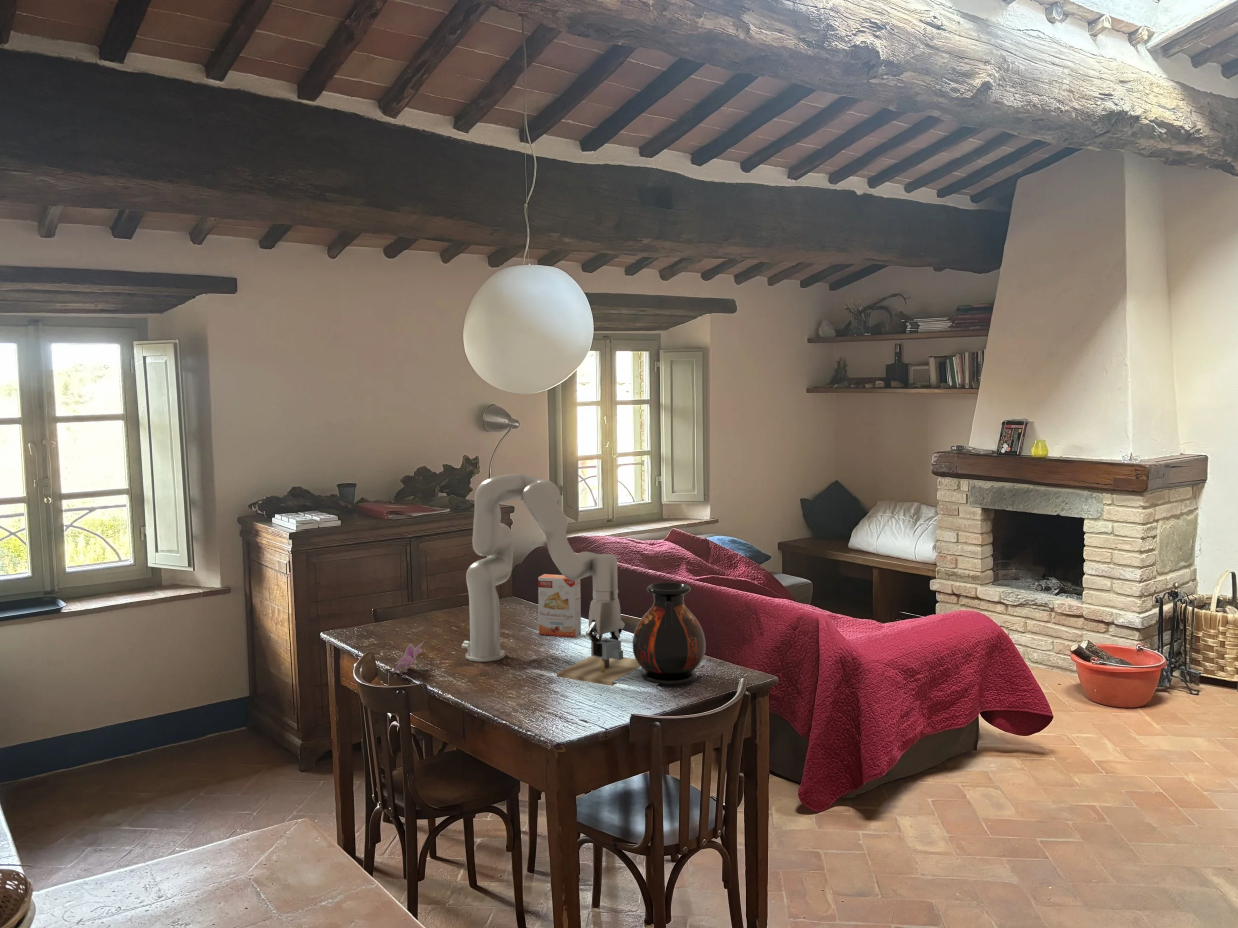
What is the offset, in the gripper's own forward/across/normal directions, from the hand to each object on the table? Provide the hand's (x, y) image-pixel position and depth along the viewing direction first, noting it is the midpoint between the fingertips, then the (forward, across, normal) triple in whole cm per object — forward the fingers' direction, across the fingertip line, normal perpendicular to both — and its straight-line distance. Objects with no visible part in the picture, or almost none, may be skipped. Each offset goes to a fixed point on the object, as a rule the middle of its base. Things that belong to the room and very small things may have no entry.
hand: (605, 652), depth 283 cm
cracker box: (+6, -20, -42) cm, 47 cm away
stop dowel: (+4, +4, +3) cm, 7 cm away
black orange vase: (+6, -6, +20) cm, 22 cm away
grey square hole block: (+1, 0, +2) cm, 2 cm away
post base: (+6, 0, 0) cm, 6 cm away
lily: (+6, +41, -43) cm, 60 cm away
